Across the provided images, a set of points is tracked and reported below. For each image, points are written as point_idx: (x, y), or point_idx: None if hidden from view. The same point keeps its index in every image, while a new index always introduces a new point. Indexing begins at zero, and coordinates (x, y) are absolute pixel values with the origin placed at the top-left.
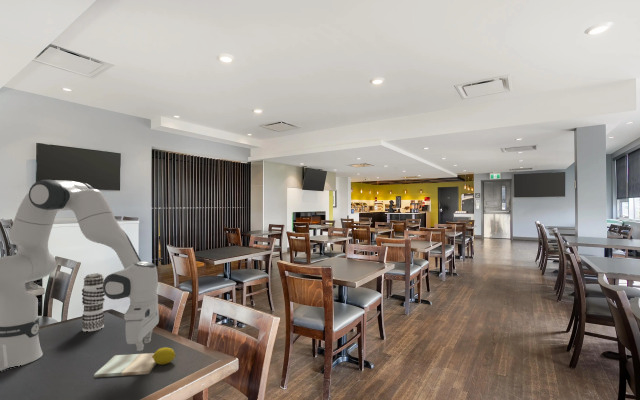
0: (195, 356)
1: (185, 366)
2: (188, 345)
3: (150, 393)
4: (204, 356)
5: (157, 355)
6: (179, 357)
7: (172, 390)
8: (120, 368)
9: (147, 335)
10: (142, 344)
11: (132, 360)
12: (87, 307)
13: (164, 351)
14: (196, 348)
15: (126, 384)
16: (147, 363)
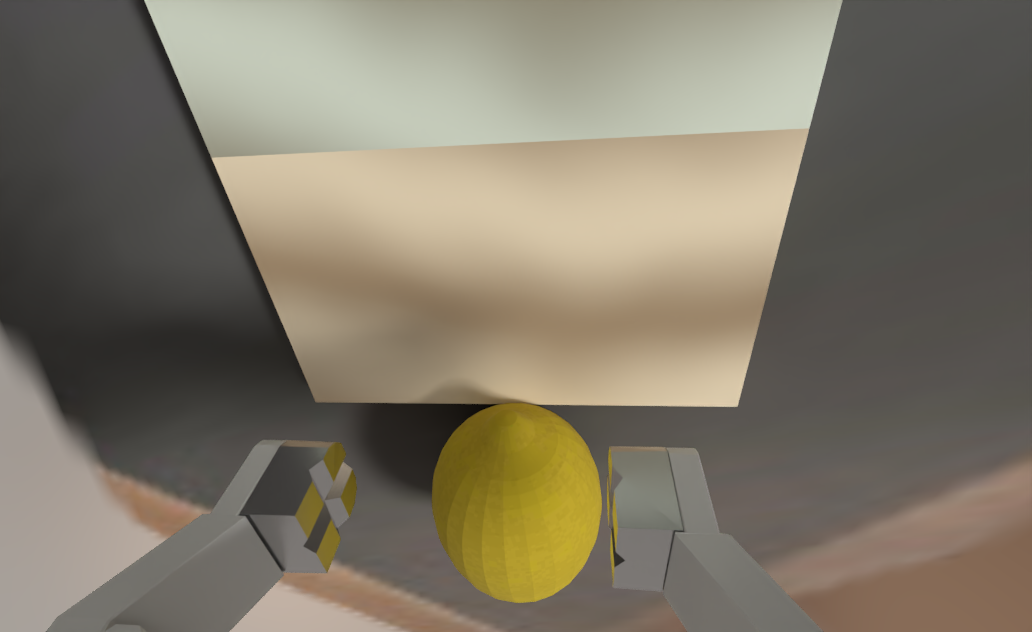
0: None
1: None
2: (902, 520)
3: (100, 463)
4: (612, 607)
5: (435, 504)
6: None
7: None
8: (304, 74)
9: (695, 600)
10: (250, 590)
11: (566, 130)
12: None
13: (462, 573)
14: (789, 567)
15: (114, 280)
16: (463, 349)
